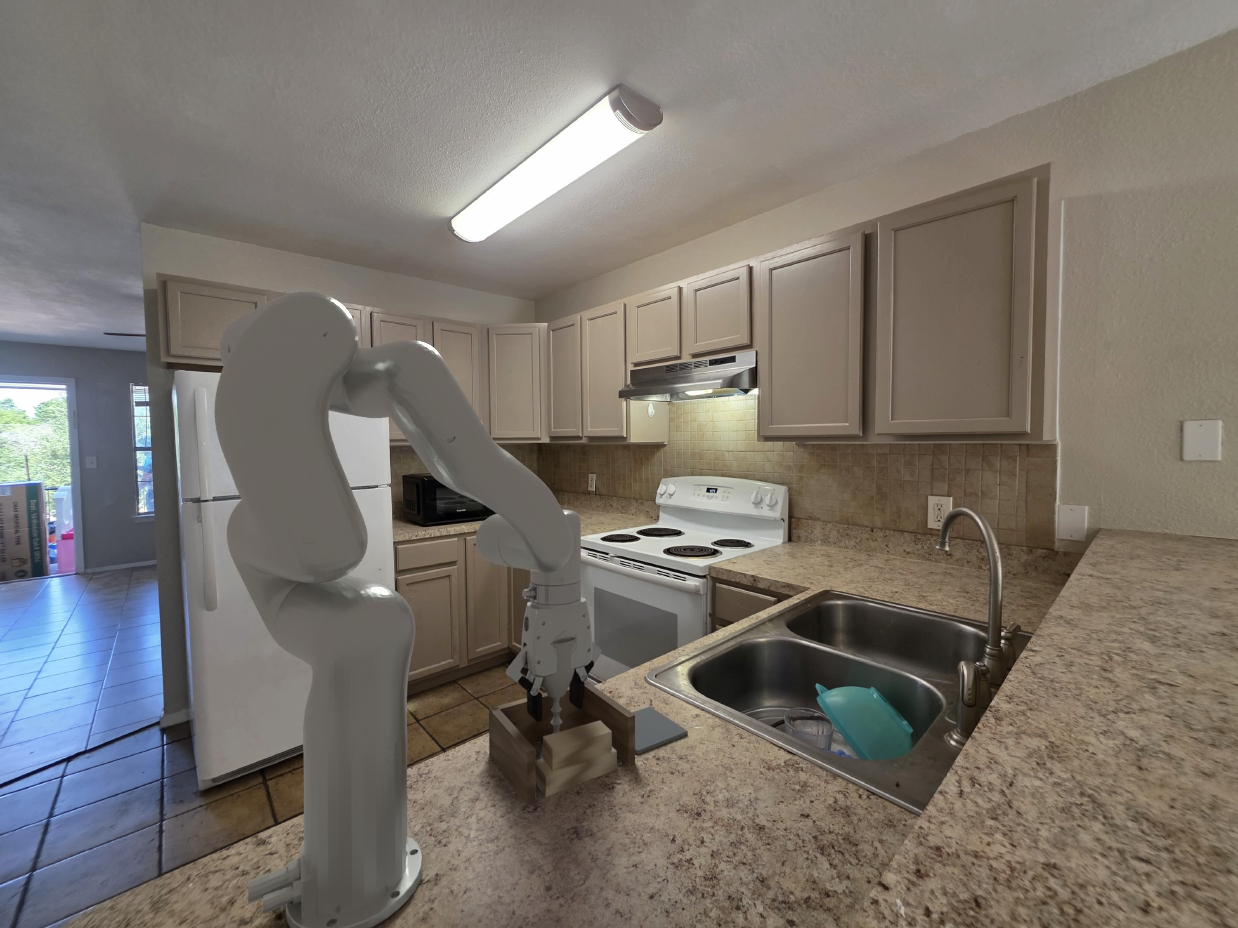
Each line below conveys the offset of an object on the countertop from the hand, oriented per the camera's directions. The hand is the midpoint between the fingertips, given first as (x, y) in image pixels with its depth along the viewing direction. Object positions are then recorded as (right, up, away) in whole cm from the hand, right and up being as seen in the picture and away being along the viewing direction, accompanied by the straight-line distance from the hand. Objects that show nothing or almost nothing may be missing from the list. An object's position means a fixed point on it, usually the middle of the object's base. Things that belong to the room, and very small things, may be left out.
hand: (556, 710), depth 77 cm
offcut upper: (+4, -4, -5) cm, 7 cm away
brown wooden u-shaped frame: (+1, -7, -1) cm, 7 cm away
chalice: (0, -7, 0) cm, 7 cm away
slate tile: (+14, -6, +7) cm, 17 cm away
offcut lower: (+3, -7, -5) cm, 9 cm away
